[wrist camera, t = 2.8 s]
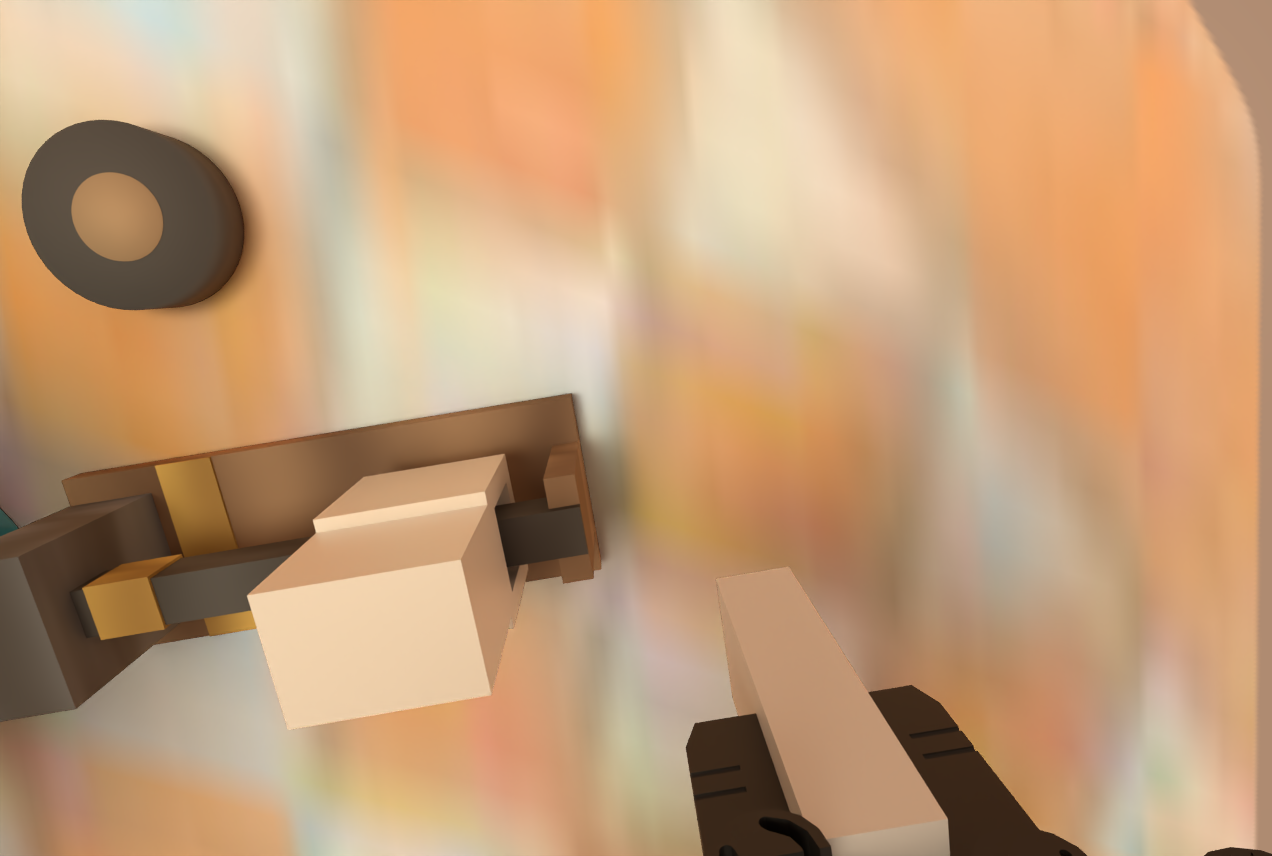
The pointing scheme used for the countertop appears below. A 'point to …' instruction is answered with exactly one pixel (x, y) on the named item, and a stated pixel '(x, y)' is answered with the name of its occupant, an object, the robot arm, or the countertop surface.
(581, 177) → the countertop surface
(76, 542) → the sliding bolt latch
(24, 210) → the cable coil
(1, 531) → the vase
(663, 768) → the countertop surface
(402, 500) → the sleeve
